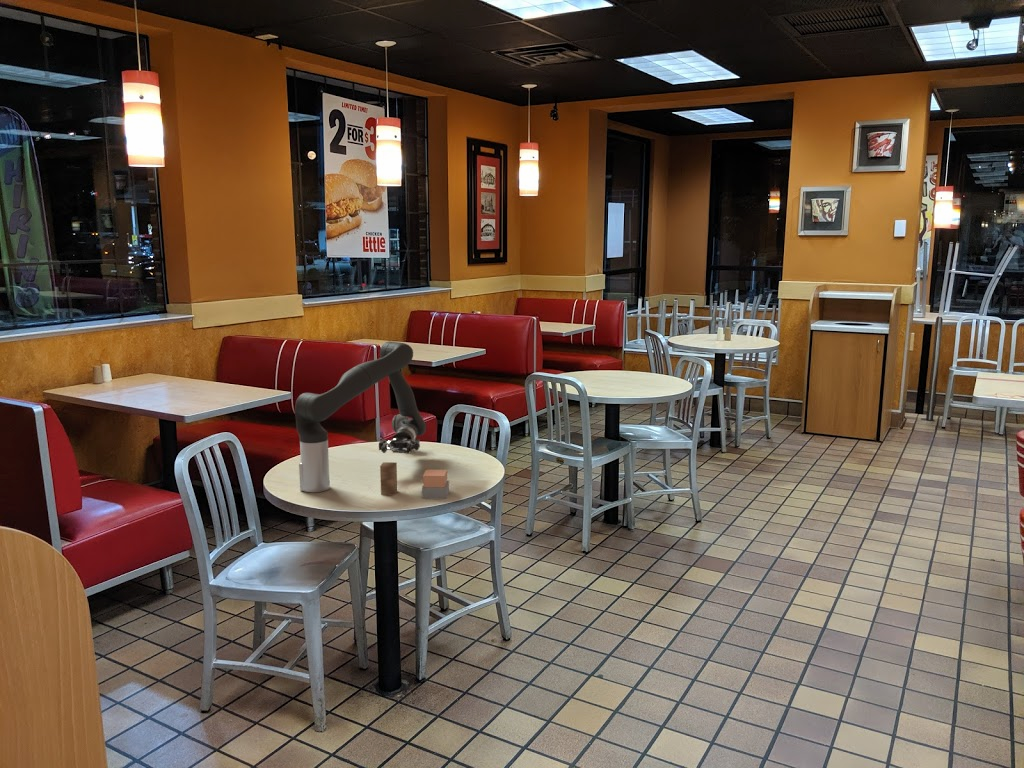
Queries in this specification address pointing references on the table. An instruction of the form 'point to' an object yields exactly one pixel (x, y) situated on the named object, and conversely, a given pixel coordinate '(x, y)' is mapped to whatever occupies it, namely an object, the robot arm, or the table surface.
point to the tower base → (435, 492)
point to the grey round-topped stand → (397, 428)
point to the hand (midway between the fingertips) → (395, 450)
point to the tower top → (435, 478)
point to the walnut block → (388, 478)
